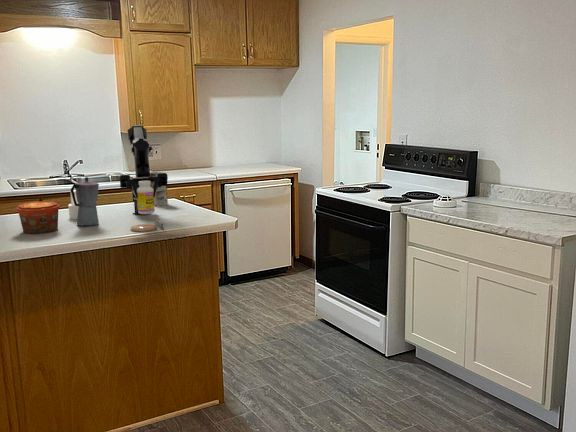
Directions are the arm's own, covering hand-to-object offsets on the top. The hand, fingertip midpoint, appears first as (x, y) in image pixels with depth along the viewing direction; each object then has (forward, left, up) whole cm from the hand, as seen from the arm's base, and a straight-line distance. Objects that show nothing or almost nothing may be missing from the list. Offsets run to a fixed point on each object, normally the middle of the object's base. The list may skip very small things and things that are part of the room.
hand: (145, 197), depth 225 cm
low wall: (+3, +5, -13) cm, 14 cm away
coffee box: (-28, +52, -13) cm, 61 cm away
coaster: (-2, 0, -13) cm, 13 cm away
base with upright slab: (-43, +12, -13) cm, 47 cm away
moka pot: (-29, 0, -13) cm, 32 cm away
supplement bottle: (-1, +1, -7) cm, 7 cm away
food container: (-40, -15, -14) cm, 45 cm away
